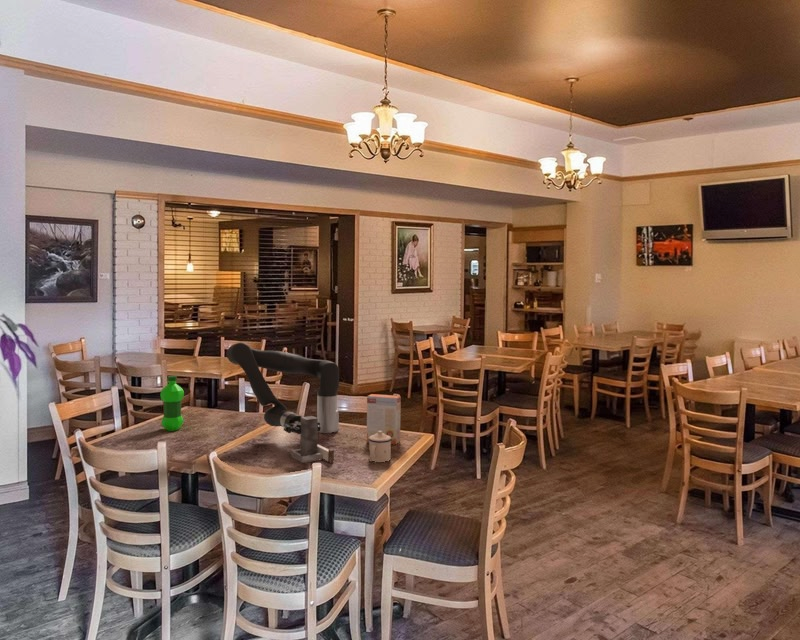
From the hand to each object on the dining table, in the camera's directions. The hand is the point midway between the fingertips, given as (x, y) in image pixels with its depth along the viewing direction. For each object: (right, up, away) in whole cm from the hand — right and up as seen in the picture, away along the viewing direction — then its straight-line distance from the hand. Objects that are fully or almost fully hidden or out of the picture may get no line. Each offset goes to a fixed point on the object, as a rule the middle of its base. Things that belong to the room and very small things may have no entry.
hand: (309, 430), depth 248 cm
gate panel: (+4, -11, +3) cm, 12 cm away
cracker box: (+29, -10, +26) cm, 40 cm away
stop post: (0, -11, +1) cm, 11 cm away
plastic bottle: (-70, -7, +42) cm, 82 cm away
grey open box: (0, -11, +1) cm, 11 cm away
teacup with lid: (+27, -12, -1) cm, 30 cm away
